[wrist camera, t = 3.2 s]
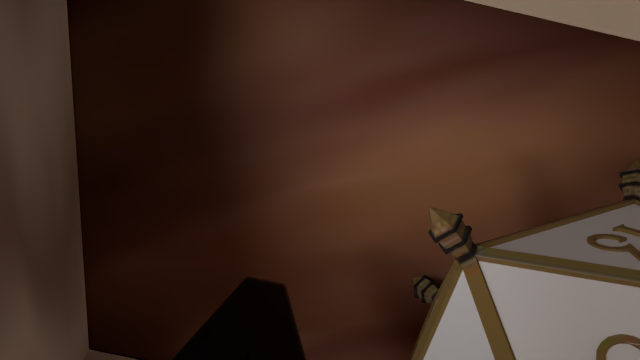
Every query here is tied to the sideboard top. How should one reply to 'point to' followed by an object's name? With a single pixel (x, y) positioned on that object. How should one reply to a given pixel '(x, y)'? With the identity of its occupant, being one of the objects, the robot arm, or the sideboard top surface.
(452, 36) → the sideboard top surface
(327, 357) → the sideboard top surface
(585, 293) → the game die
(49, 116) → the cubby
